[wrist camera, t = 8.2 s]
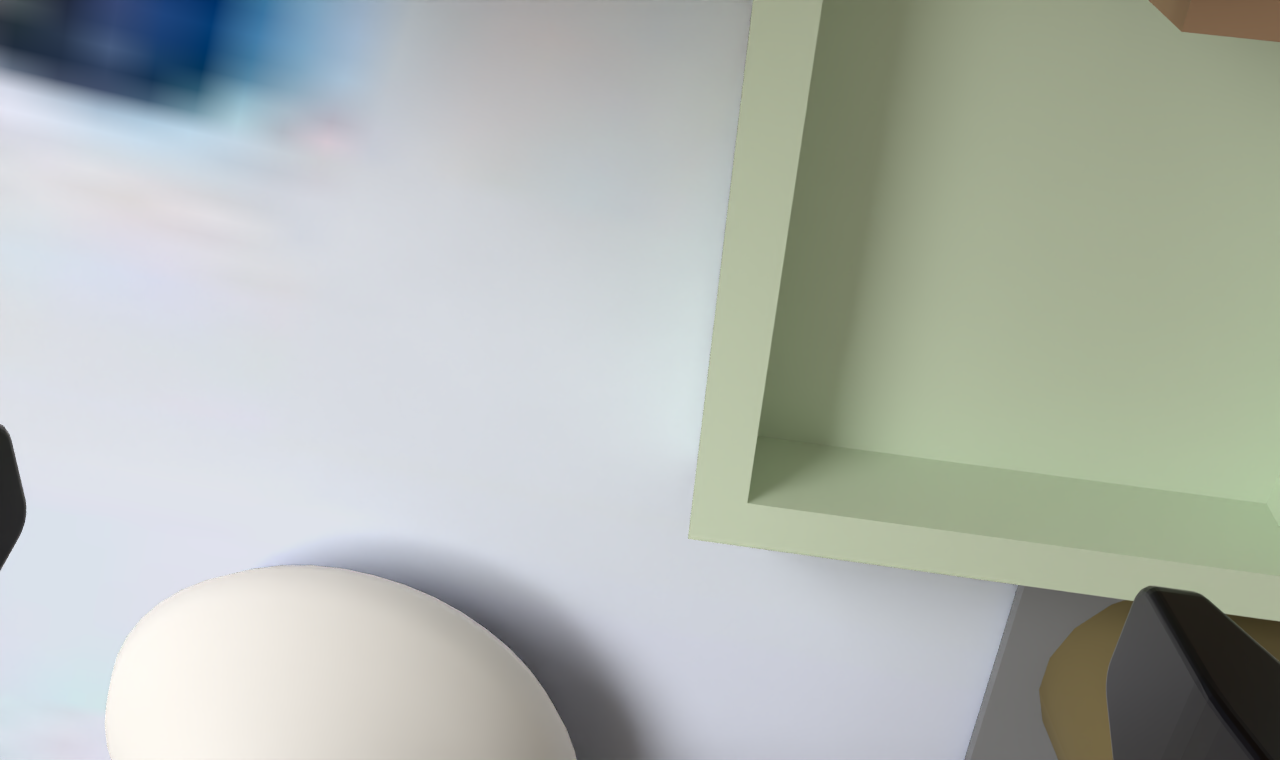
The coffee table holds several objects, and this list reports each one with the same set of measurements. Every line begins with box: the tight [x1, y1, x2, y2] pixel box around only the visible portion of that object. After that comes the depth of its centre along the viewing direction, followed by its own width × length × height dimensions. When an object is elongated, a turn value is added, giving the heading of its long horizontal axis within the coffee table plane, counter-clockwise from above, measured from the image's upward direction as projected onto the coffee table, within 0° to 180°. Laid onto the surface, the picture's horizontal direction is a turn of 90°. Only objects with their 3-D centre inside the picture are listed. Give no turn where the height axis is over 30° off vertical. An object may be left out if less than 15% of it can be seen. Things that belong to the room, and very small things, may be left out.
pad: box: [965, 585, 1124, 760], centre depth 26 cm, size 8×8×1 cm
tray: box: [688, 0, 1280, 621], centre depth 19 cm, size 16×12×3 cm
